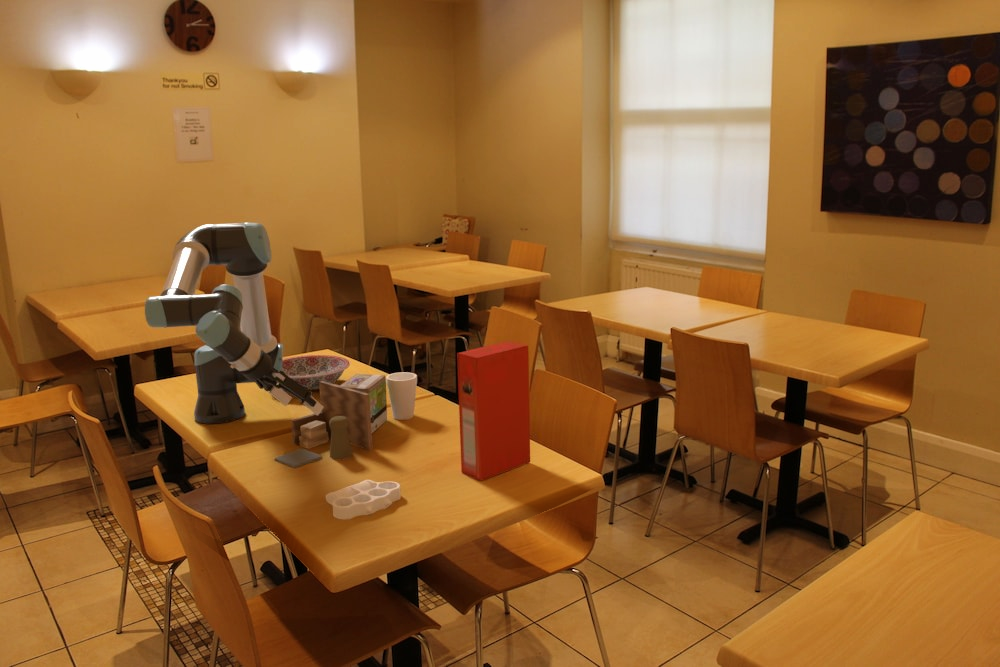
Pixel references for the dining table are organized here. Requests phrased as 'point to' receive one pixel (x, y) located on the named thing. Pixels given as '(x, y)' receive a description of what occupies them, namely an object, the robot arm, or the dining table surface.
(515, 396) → the file binder
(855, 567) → the dining table surface
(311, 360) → the ceramic bowl
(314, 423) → the offcut upper
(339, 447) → the olive brown peg
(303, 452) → the coaster
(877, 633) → the dining table surface
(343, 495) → the white flat holed block
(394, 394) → the foam cup
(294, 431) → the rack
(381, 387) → the tea box
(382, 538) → the dining table surface
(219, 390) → the robot arm
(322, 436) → the offcut lower
